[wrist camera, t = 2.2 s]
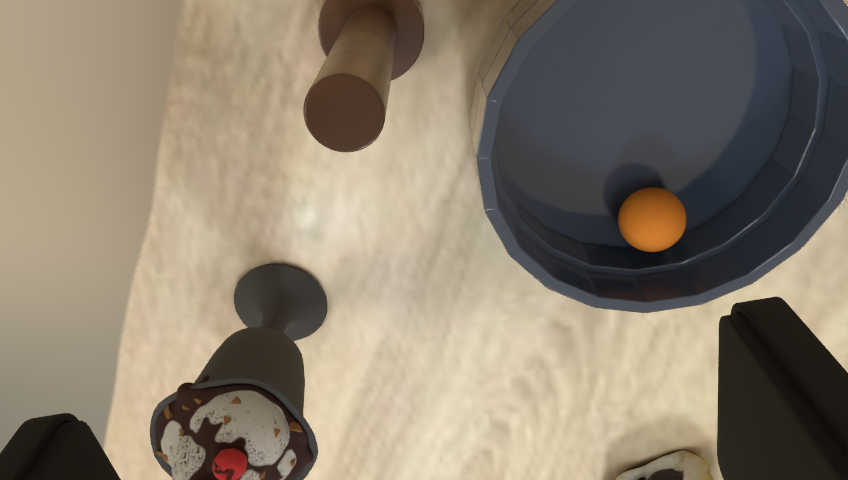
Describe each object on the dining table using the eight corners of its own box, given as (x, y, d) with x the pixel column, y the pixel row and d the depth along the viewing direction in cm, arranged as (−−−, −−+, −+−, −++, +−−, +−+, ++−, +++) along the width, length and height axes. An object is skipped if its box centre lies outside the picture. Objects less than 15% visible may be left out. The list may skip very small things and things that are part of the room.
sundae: (308, 230, 33) (233, 460, 20) (362, 331, 36) (328, 589, 23) (194, 271, 34) (51, 515, 21) (256, 366, 37) (165, 630, 24)
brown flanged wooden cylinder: (310, -17, 28) (239, 48, 17) (413, -39, 27) (408, 15, 17) (336, 85, 30) (288, 201, 19) (432, 67, 29) (438, 175, 19)
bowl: (444, -29, 27) (448, -11, 23) (823, -105, 26) (904, -102, 22) (493, 277, 35) (504, 335, 30) (792, 229, 33) (849, 282, 29)
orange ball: (609, 182, 31) (626, 210, 29) (673, 172, 31) (696, 198, 28) (612, 237, 33) (629, 268, 30) (673, 227, 33) (696, 258, 30)
